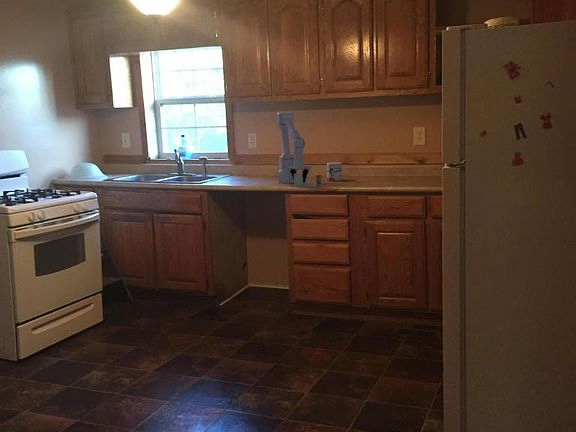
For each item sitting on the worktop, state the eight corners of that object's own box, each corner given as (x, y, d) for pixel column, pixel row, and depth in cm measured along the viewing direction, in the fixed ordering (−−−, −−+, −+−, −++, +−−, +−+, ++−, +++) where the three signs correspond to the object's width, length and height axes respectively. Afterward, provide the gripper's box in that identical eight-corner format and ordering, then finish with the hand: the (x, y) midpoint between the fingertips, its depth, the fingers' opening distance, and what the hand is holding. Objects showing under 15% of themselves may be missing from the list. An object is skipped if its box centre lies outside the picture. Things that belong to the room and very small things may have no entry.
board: (288, 187, 389) (288, 186, 389) (300, 183, 408) (300, 182, 407) (317, 188, 383) (317, 186, 383) (327, 183, 401) (327, 182, 401)
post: (316, 183, 397) (316, 175, 396) (317, 182, 400) (317, 174, 399) (320, 183, 396) (320, 175, 395) (321, 182, 399) (321, 174, 398)
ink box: (329, 182, 405) (328, 163, 403) (326, 181, 409) (326, 162, 407) (342, 181, 406) (341, 162, 404) (340, 180, 411) (339, 161, 409)
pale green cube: (294, 185, 388) (293, 174, 387) (297, 183, 393) (296, 172, 392) (302, 185, 386) (302, 174, 385) (305, 183, 391) (305, 172, 390)
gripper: (285, 160, 386) (286, 182, 388) (308, 159, 381) (309, 183, 383) (289, 158, 392) (290, 181, 395) (312, 158, 387) (313, 181, 390)
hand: (299, 182), depth 389 cm, fingers closed on pale green cube, 5 cm apart
